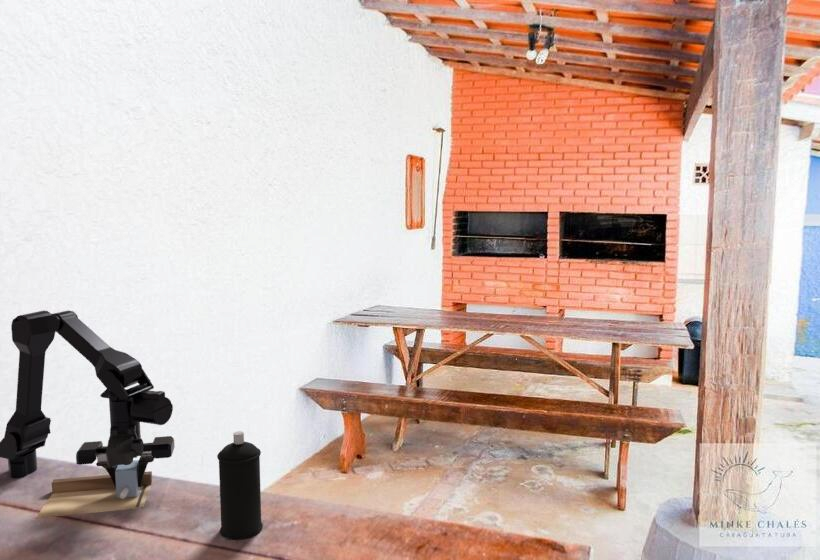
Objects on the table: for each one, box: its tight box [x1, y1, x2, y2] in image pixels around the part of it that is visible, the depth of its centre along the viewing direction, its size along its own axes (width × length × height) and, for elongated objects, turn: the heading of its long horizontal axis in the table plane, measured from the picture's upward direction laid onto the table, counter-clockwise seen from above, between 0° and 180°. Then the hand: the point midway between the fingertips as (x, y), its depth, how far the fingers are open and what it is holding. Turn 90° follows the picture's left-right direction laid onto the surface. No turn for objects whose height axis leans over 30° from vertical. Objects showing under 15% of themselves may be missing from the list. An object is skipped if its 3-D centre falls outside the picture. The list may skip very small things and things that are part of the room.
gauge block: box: [115, 459, 140, 499], centre depth 137 cm, size 8×4×6 cm, turn 13°
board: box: [35, 470, 153, 519], centre depth 137 cm, size 12×20×4 cm, turn 103°
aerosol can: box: [216, 430, 264, 541], centre depth 127 cm, size 8×8×20 cm
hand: (128, 487), depth 139 cm, fingers closed on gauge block, 4 cm apart
